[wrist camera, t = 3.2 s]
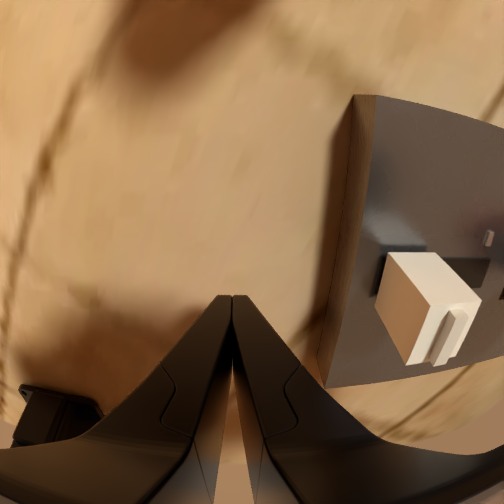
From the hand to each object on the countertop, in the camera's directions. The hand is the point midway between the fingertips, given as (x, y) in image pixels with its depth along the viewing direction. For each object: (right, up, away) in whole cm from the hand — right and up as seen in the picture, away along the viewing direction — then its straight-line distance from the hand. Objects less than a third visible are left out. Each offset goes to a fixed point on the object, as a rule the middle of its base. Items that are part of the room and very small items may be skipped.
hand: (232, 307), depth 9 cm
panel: (+14, +2, +4) cm, 14 cm away
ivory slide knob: (+6, +1, +1) cm, 6 cm away
